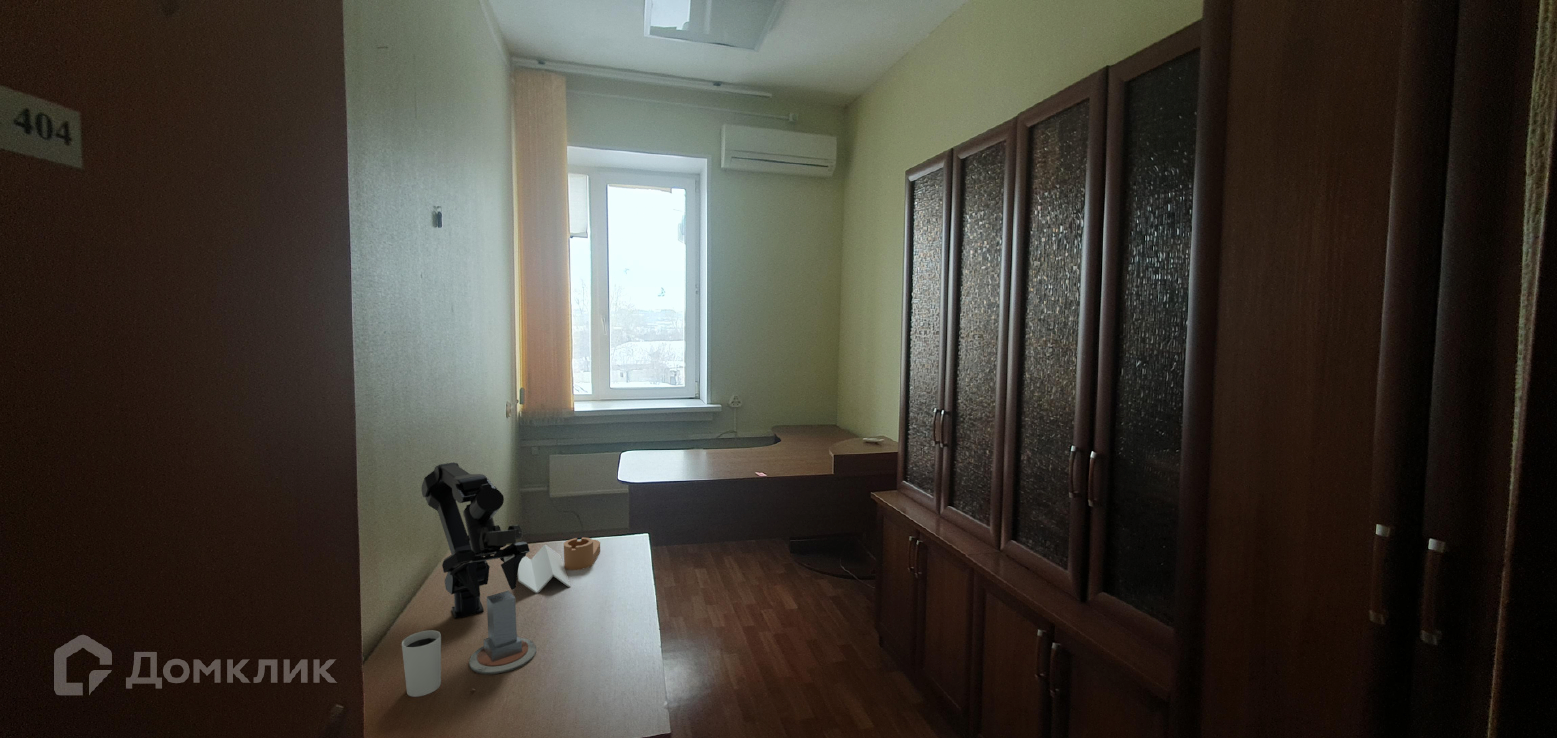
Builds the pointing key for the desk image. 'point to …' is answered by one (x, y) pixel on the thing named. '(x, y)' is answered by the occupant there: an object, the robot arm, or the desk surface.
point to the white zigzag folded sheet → (542, 569)
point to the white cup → (422, 662)
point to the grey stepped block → (502, 627)
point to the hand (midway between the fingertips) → (496, 592)
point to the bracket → (580, 553)
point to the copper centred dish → (502, 660)
